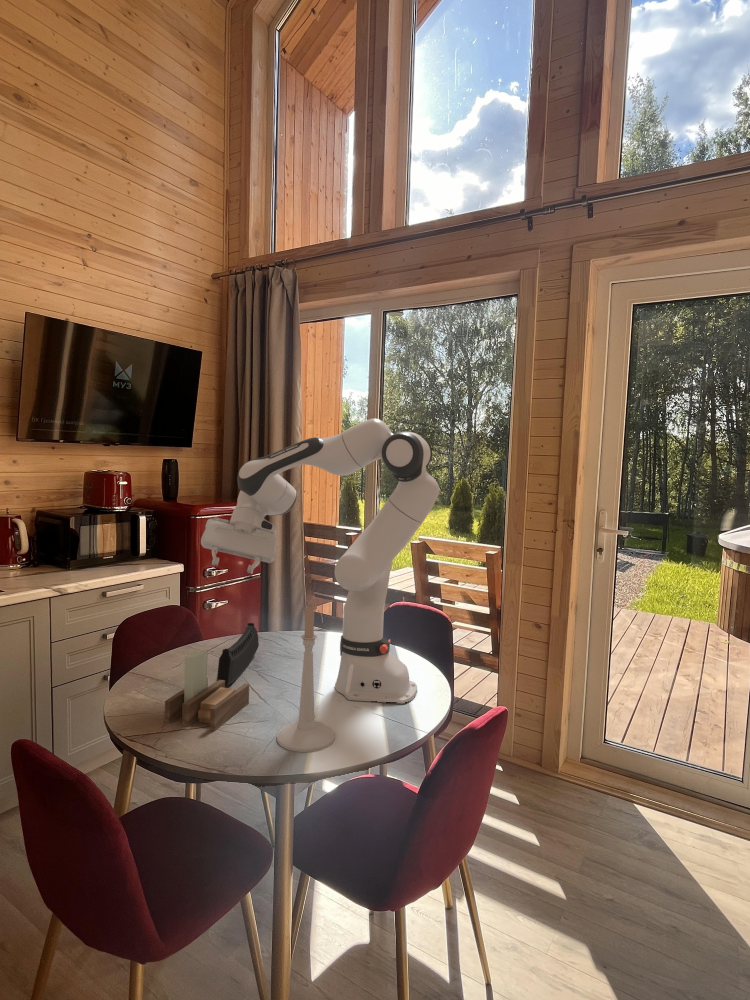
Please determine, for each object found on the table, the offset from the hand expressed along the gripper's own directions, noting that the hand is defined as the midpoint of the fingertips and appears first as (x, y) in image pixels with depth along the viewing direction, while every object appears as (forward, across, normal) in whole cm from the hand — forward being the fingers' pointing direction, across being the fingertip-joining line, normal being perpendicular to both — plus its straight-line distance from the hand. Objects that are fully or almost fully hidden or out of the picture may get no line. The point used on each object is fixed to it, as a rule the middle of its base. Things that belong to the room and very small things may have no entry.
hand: (232, 568), depth 153 cm
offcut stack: (+36, +7, +4) cm, 37 cm away
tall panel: (+35, +1, +7) cm, 36 cm away
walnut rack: (+36, +4, +5) cm, 36 cm away
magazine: (+18, +8, +28) cm, 35 cm away
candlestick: (+40, +27, -8) cm, 49 cm away
